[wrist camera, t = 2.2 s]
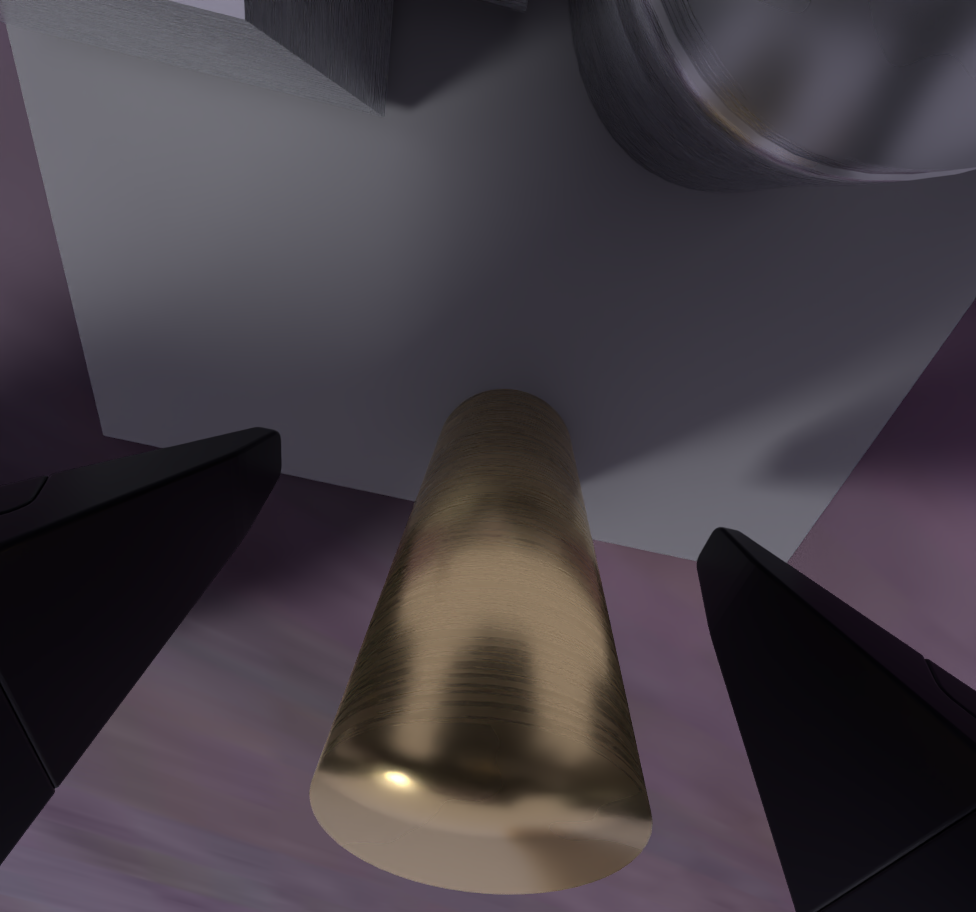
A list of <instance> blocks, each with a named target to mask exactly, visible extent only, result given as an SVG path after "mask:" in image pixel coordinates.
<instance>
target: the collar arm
mask: <svg viewBox="0 0 976 912" xmlns="http://www.w3.org/2000/svg"><path fill="white" fill-rule="evenodd" d="M478 1H482V2H486V3H489V4H493V5H497V6H501V7H505V8H508V9H512V10H516V11H520V12H524V13H526V10H527V5H528V0H478ZM393 5H394V0H0V22H3V23H5V24H9V25H13V26H17V27H21V28H25V29H29V30H33V31H37V32H41V33H45V34H49V35H53V36H57V37H61V38H65V39H69V40H73V41H77V42H81V43H85V44H89V45H93V46H98V47H102V48H106V49H110V50H114V51H118V52H122V53H126V54H130V55H134V56H138V57H142V58H146V59H150V60H154V61H158V62H162V63H166V64H170V65H174V66H178V67H182V68H186V69H190V70H194V71H198V72H202V73H206V74H211V75H215V76H219V77H223V78H227V79H231V80H235V81H239V82H243V83H247V84H251V85H255V86H259V87H263V88H267V89H271V90H275V91H279V92H283V93H287V94H291V95H295V96H299V97H303V98H307V99H311V100H315V101H319V102H324V103H328V104H332V105H336V106H340V107H344V108H348V109H352V110H356V111H360V112H364V113H368V114H372V115H376V116H380V117H384V118H385V108H386V95H387V82H388V69H389V56H390V44H391V31H392V18H393Z"/></svg>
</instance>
